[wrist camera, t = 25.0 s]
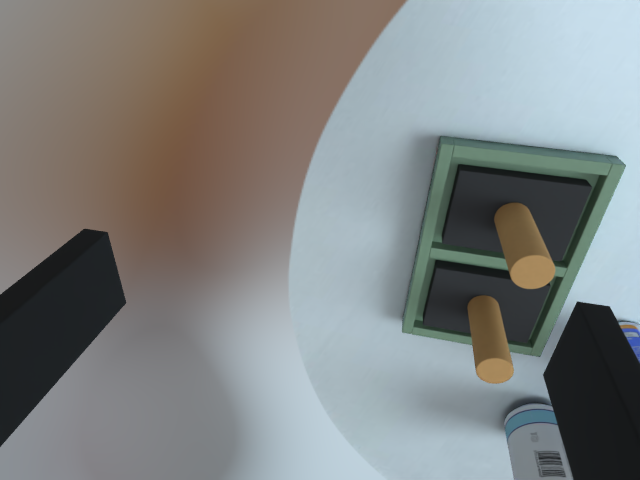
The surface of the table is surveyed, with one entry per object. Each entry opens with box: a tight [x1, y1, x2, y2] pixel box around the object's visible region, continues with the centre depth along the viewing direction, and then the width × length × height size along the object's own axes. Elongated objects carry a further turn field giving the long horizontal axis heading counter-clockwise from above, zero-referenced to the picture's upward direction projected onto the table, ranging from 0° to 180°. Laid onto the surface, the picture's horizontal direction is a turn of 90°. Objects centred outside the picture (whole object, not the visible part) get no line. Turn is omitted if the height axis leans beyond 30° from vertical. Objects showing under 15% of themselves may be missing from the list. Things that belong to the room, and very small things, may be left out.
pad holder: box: [402, 136, 626, 357], centre depth 40 cm, size 20×14×2 cm
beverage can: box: [504, 403, 573, 480], centre depth 45 cm, size 7×7×12 cm
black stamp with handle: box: [442, 164, 592, 289], centre depth 33 cm, size 7×10×10 cm
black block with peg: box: [423, 260, 551, 384], centre depth 39 cm, size 7×10×10 cm
